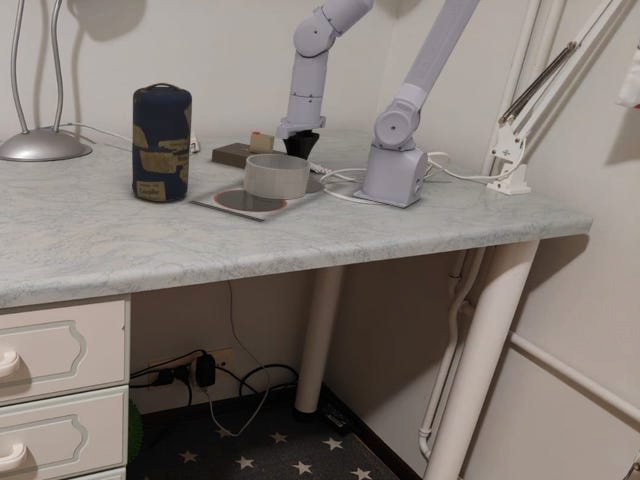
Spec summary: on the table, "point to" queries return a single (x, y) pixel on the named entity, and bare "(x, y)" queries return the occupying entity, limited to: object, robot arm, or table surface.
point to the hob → (254, 201)
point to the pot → (276, 176)
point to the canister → (161, 142)
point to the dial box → (235, 155)
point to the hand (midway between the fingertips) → (295, 173)
